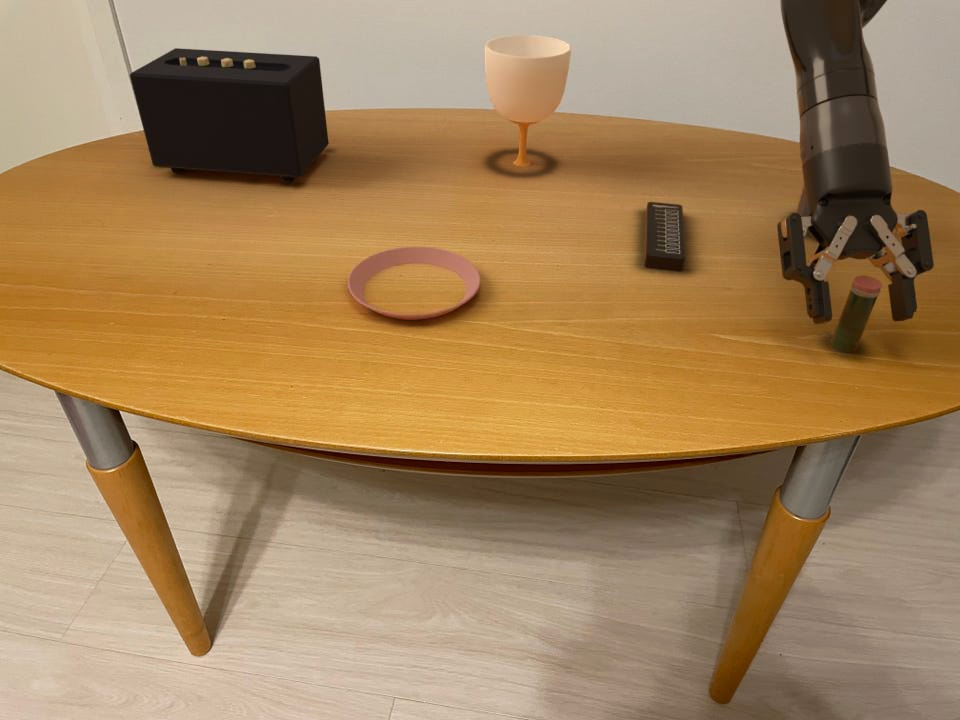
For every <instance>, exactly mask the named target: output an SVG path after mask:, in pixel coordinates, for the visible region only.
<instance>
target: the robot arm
mask: <svg viewBox="0 0 960 720" xmlns="http://www.w3.org/2000/svg"><path fill="white" fill-rule="evenodd" d="M779 2H780V4H779V5H780V14H781V19H782V24H783V29H784V33H785V37H786V42H787V45H788V50H789V53H790V57H791V60H792V64H793V68H794V75H795V85H796V86H795V89H796V100H797V108H798V117H799V150H800V151H799V157H800V160H801V168H802V177H803V184H804V187H805V196H806V204H807V207H808V208H809V215H808V216H805V217H801V216H800V215H799V214H798V213H795V212H792V213H790V214H789V215H788V216H786V217H785V218H783V219H781V220H780V221H779V222H778V223H777V225H776V227H777V228H776V229H777V237H778V246H779V255H780V266H781V275H782V278H783V280H786V281H795V282H798V283H800V284H801V285H802V286H803V288H804V295H805V296H804V297H805V304H806V313H807V315H808V317H809V319H812V323H813V324H815V325H824V324H826V323H830V322H831V321H832V319H833V309H832V302H831V291H830V283H829V281H825V279H826V277H827V275H828V274H829V272H830V270H831V268H832V266H833V264H834V263H835V262H836V261H842V260H846V259H848V258H849V259H850V258H851V259H855V260H865V259H868V261H869V262H870V263H871V264H872V265H873V266H874V267H875V268H879V269H880V270H881V272H882V273H883V274H884V275H885V277H886V278H887V280H888V281H889V282H890V283H889V284H887V287H888V295H889V302H890V309H891V310H890V312H891V318H892V319H891V320H892V321H893V322H903V321H907V320H911V319H913V317H914V315H915V313H916V312H917V309H918V303H917V297H916V296H917V295H916V287H915V279H916V277H918V276H919V275H921V274H924V273H926V272H929V271H931V270H933V269H934V265H935V264H934V257H933V250H932V248H933V247H932V241H931V235H930V227H929V222H928V221H929V220H928V214H927V212H926V211H925V210H923V209H918V210H916V211H914V212H911V213H897V212H896V211H895V210H894V208H893V206H892V201H891V200H892V194H893V181H892V173H891V166H890V157H889V151H888V143H887V136H886V128H885V122H884V119H883V115H882V112H881V108H880V104H879V99H878V92H877V83H876V82H877V81H876V74H875V69H874V64H873V61H872V57H871V54H870V52H869V49H868V47H867V45H866V42H865V39H864V33H863V29H864V28H865V27H866V26H867V25H868V24H869V23H870V22H871V21H873V19H874V17H876V15H877V14H878V13H879V12H880V11H881V9H882V8H883V6H884V5H885V4H886V3H887V2H888V0H779ZM895 229H896V235H897V237H900V240H898V239H897V238H896V236H895V235H894V234H893V231H894V230H895ZM807 230H808V231H809V233H810V234H811V235H812V236H813V237H814V240H815V241H816V243H817V244H816V246H815V248H814V250H813V251H812V253H811V255H810V257H809V259H808V264H807V257H806V256H807V254H806V247H805V237H806V236H807V235H806V234H807ZM813 237H812V238H813ZM900 241H901V242H900ZM883 249H884V250H885V252H884V251H882V250H883Z"/></svg>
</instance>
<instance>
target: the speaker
mask: <svg viewBox="0 0 960 720" xmlns="http://www.w3.org/2000/svg"><path fill="white" fill-rule="evenodd" d="M129 79H130V83H131V87H132V90H133V94H134V98H135V102H136V106H137V109H138V113H139V114H138V115H139V117H140V121H141V125H142V129H143V132H144V136H145V141H146V144H147V149H148V153H149V156H150V159H151V163H152V166H153V167H155V168H166V169H171V171H172V173H173V174H178V175H179V174H183V173H186V171H187V170H191V171H193V170H194V171H204V172H205V171H207V172H220V173H232V174H243V175H256V176H257V175H258V176H270V177H281V178H282V180H283V181H284V183H292V182H294V181H296V178H297V179H300V178H301V177H303V175H304V174H305V173H306V172H307V170H308V169H309V168H310V167H311V165H312V164H313V163H314V162H315V161H316V160H317V158H319V156H320V155H321V154H322V152H323V151H324V150H325V149H326V148H327V147H328V146H329V144H330V143H329V135H328V134H329V133H328V125H327V118H326V117H327V116H326V115H327V114H326V107H325V98H324V89H323V79H322V71H321V63H320V57H318V56H316V55H299V54H298V55H297V54H282V53H280V54H279V53H266V52H265V53H264V52H263V53H262V52H247V51H228V50H214V49H213V50H212V49H197V48H196V49H194V48H179V47H178V48H177V47H175V48H174V49H172V50H170V51H167V52H166V53H164V54H162V55H161V56H159V57H157V58H156V59H153V60H152V61H150V62H148V63H147V64H145V65H143V66H141V67H139V68H137V69H136V70H134V71H132V72H131V73H130V74H129Z"/></svg>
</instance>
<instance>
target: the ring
mask: <svg viewBox="0 0 960 720" xmlns="http://www.w3.org/2000/svg"><path fill="white" fill-rule="evenodd" d="M403 265H429V266H436V267H440V268H443V269H445V270H448V271H451V272H452V273H454V274H455V275H457V276H458V277H459V278H460V279H461V280H462V281H463V283H464V286H465V293H464V295H463V297H462V299H461V300H460V301H459V302H458V303H457V304H455V305H452V306H450V307H447V308H444V309H440V310H436V311H431V312H423V313H399V312H393V311H386V310H383V309H379V308H377V307H374V306H372V305H371V304H370V303H369V302H368V301H367V299H366V297H365V293H364V291H365V287H366V284H367V283H368V282H369V280H371V278H373V277H374V276H375V275H376V274H379V273H380V272H382V271H384V270H385V271H386V270H388V269H390V268H394V267H398V266H403ZM481 281H482V280H481V273H480V271H479V270H478V268H477V267H476V265H475V264H474V263H473V262H472V261H470V260H469V259H467V258H465V256H463V255H460V254H458V253H456V252H454V251H450V250H447V249H444V248H443V249H442V248H437V247H431V246H404V247H396V248H391V249H387V250H383V251H380V252H377V253H375V254H372V255H370V256H368V257H366V258H364V259H363V260H361V261H359V263H358V264H356V265H355V266H354V267H353V268H352V270H351V271H350V273H349V275H348V277H347V288H348V291H349V293H350V295H351V296H352V297H353V299H354V300H356V301H357V302H358V303H359V304H361V305H362V306H364V307H365V308H368V309H369V310H371V311H373V312H375V313H377V314H379V315H381V316H385V317H388V318H392V319H398V320H405V321H408V320H409V321H410V320H411V321H413V320H415V321H416V320H417V321H418V320H427V319H433V318H437V317H441V316H444V315H446V314H449V313H451V312H453V311H455V310H457V309H458V308H459V307H461V306H463V305H465V304H466V303H467V302H470V300H472V299H473V298H474V297H475V296H476V294H477V293H478V291H479V289H480V287H481V283H482V282H481Z"/></svg>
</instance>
